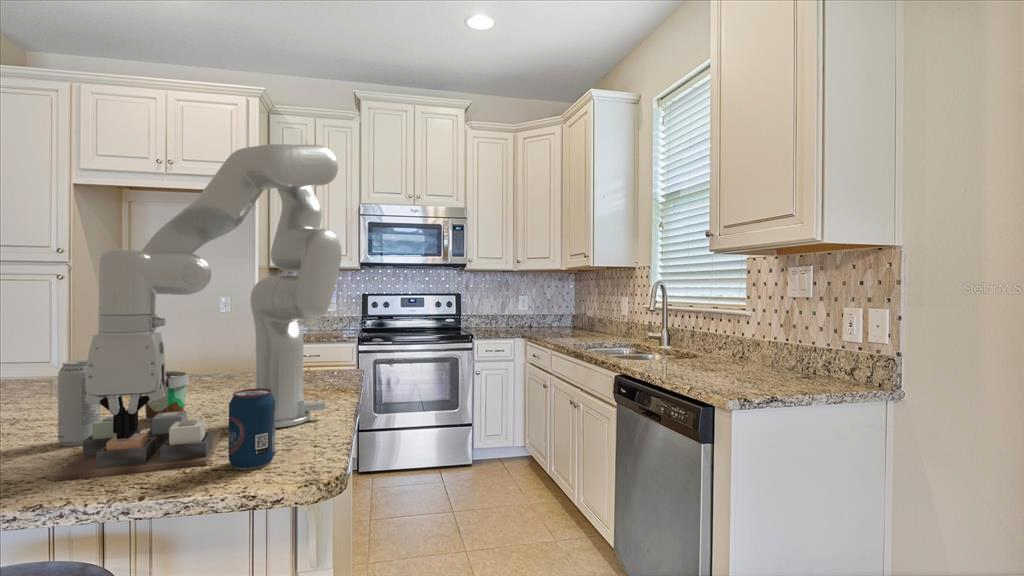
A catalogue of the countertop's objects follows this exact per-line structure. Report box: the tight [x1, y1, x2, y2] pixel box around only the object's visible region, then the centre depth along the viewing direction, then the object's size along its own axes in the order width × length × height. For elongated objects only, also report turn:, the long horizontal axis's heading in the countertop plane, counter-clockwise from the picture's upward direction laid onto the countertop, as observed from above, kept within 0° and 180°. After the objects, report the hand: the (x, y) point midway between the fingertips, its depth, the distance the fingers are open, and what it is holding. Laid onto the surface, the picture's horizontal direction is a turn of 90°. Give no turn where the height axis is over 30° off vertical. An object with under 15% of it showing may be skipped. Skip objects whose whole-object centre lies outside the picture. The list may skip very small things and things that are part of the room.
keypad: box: [52, 426, 223, 482], centre depth 89 cm, size 20×18×3 cm
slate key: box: [151, 410, 188, 434], centre depth 94 cm, size 4×4×3 cm
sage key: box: [92, 416, 117, 439], centre depth 90 cm, size 4×4×3 cm
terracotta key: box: [106, 432, 148, 451], centre depth 85 cm, size 4×4×3 cm
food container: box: [144, 370, 191, 422], centre depth 112 cm, size 12×6×10 cm, turn 58°
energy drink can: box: [57, 359, 101, 447], centre depth 96 cm, size 6×6×15 cm
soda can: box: [228, 388, 276, 471], centre depth 85 cm, size 7×7×12 cm
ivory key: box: [169, 419, 206, 445], centre depth 88 cm, size 4×4×3 cm
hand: (125, 436), depth 84 cm, fingers closed
